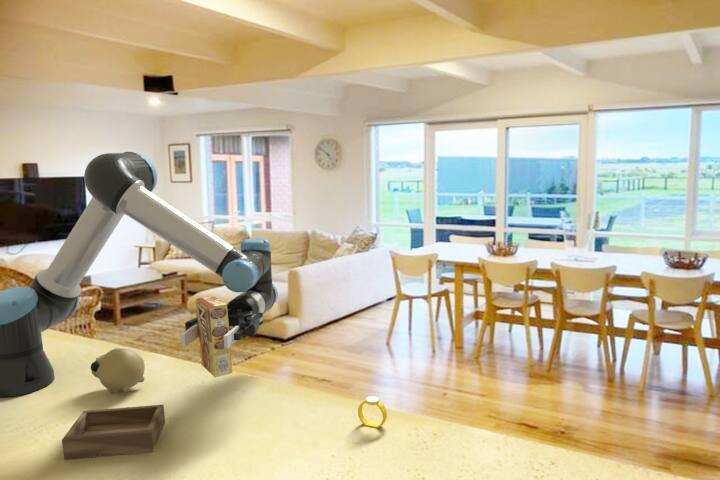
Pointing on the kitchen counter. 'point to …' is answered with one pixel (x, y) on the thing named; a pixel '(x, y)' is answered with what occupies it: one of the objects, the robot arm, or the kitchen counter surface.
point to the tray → (114, 432)
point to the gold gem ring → (372, 401)
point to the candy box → (213, 335)
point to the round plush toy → (119, 369)
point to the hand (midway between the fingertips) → (204, 341)
